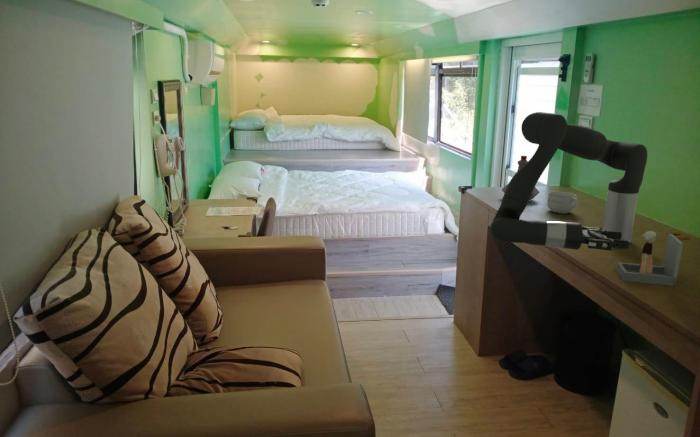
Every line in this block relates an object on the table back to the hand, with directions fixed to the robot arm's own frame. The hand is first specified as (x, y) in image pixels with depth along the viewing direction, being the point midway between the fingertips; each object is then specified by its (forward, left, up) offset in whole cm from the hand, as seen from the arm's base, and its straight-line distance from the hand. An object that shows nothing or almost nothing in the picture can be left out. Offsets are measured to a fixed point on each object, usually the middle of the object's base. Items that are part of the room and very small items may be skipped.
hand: (624, 240), depth 146 cm
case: (0, +7, -10) cm, 12 cm away
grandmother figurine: (0, +6, -10) cm, 12 cm away
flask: (-91, -22, -11) cm, 94 cm away
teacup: (-72, -6, -11) cm, 73 cm away
